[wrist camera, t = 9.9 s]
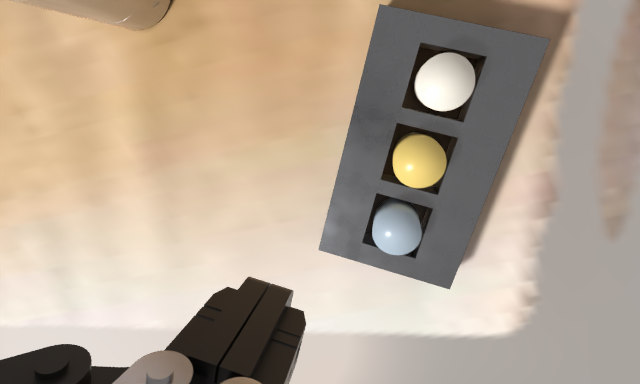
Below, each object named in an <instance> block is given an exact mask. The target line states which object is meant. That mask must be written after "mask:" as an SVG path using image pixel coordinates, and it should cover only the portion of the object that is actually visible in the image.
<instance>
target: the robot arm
mask: <svg viewBox="0 0 640 384" xmlns="http://www.w3.org/2000/svg"><path fill="white" fill-rule="evenodd" d="M11 1H15V2H19V3H24V4H28V5H32V6H36V7H40V8H44V9H48V10H53V11H57V12H61V13H65V14H69V15H73V16H77V17H81V18H86V19H90V20H94V21H98V22H101V23H106V24H110V25H114V26H119V27H123V28H127V29H131V30H144V29H147V28H150V27H152V26H154V25H155V24H157V23H158V22H159V21H160V20H161V19H162V18H163V16H164V14H165V13H166V11H167V9H168V7H169V4H170V1H171V0H11ZM292 297H293V290H290V289H287V288H284V287H281V286H277V285H274V284H270V283H268V282H264V281H261V280H258V279H255V278H252V277H248V278H247V279H246V280H245V281H244V283H243V284H242V285H241V287H240V288H239V289H238V290H236V289H233V288H230V287H227V288H225V289H223V290H221V291H219V292H217V293H215V294H213V295H212V297H211V298H210V299H209V300H208V301H207V302H206V303H205V305H204V307H202V308H201V309H200V310H199V311H198V313H197V314H196V316H194V317H193V318H192V319H191V321H190V322H189V323H188V324H187V325H186V326H185V327H184V328H183V330H182V331H181V332H180V333H179V334H178V335H177V336H176V338H175V339H174V340H173V341H172V342H171V343H170V345H169V346H168V347H167V348H166V349H165V350H164V351H157V352H153V353H150V354H148V355H145V356H143V357H142V358H140V359H139V360H138V361H136V362H135V363H134V364H133V365H132V366H131V367H120V368H119V367H97V366H91V356H90V353H89V352H88V351H87V350H86V349H84V348H83V347H80V346H77V345H72V344H61V345H54V346H50V347H46V348H42V349H39V350H35V351H32V352H28V353H24V354H21V355H17V356H14V357H10V358H7V359H3V360H0V384H289V382H290V379H291V376H292V373H293V370H294V367H295V364H296V362H297V358H298V353H299V350H300V346H301V342H302V338H303V334H304V330H305V326H306V321H305V316H304V311H301V310H298V309H295V308H292V307H290V306H291V301H292Z"/></svg>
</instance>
